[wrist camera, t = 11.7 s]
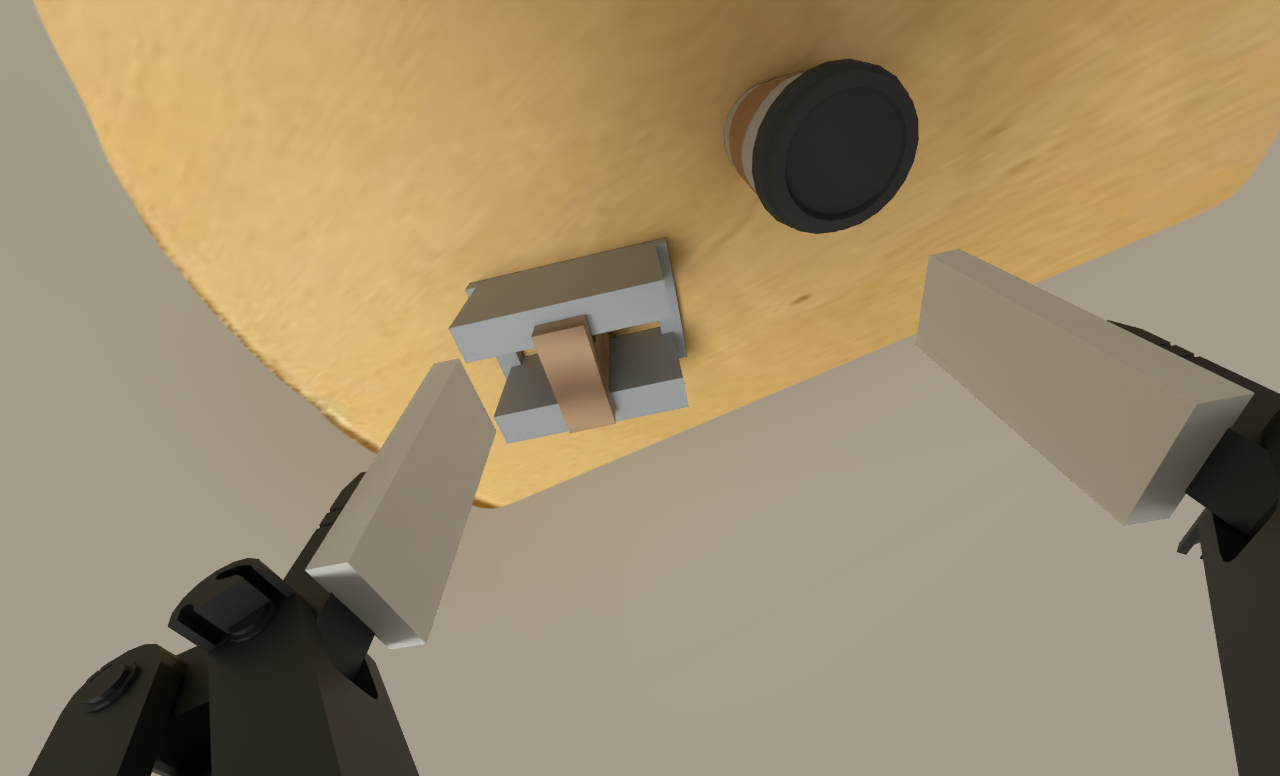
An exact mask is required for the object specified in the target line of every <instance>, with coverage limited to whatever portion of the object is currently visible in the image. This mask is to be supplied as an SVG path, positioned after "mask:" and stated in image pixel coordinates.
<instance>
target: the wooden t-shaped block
mask: <svg viewBox="0 0 1280 776" xmlns="http://www.w3.org/2000/svg"><path fill="white" fill-rule="evenodd" d="M531 338H532V340H533V343H534V345H535V348H536V350H537V353H538V355H539V358H540V360H541V363H542V365H543V368H544V370H545V373H546V375H547V378H548V380H549V383H550V385H551V387H552V390H553V392H554V395H555V397H556V400H557V402H558V405H559V407H560V410H561V412H562V415H563V417H564V420H565V422H566V425H567V427H568V429H569V432H570V433H573V432H578V431H583V430H588V429H593V428H597V427H602V426H607V425H612V424H616V422H615V408H614V404H613V401H612V398H611V395H610V392H609V389H608V386H609V336H608V333H607V332H605V333H600V334H596V335H591V332H590V329H589V326H588V323H587V320H586V316H585V314H584V315H579V316H575V317H571V318H566V319H562V320H557V321H553V322H549V323H544V324H540V325H536V326H535V327H534V330H533V333H532V336H531Z"/></svg>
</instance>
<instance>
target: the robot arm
mask: <svg viewBox="0 0 1280 776" xmlns="http://www.w3.org/2000/svg"><path fill="white" fill-rule="evenodd" d="M916 346H918V347H919V348H920V349H921V350H922V351H923V352H924V353H926V354H927V355H928V356H929V357H930V358H931V359H933V360H934V361H935V362H936V363H937V364H938V365H939V366H940V367H942V368H943V369H944V370H945V371H946V372H947V373H949V374H950V375H951V376H952V377H953V378H954V379H955V380H957V381H958V382H959V383H960V384H961V385H962V386H963V387H965V388H966V389H967V390H968V391H969V392H970V393H971V394H973V395H974V396H975V397H976V398H977V399H978V400H980V401H981V402H982V403H983V404H984V405H985V406H986V407H987V408H989V409H990V410H991V411H992V412H993V413H994V414H996V415H997V416H998V417H999V418H1000V419H1001V420H1002V421H1004V422H1005V423H1006V424H1007V425H1008V426H1009V427H1010V428H1012V429H1013V430H1014V431H1015V432H1016V433H1017V434H1018V435H1020V436H1021V437H1022V438H1023V439H1024V440H1025V441H1027V442H1028V443H1029V444H1030V445H1031V446H1032V447H1033V448H1035V449H1036V450H1037V451H1038V452H1039V453H1040V454H1041V455H1043V456H1044V457H1045V458H1046V459H1047V460H1048V461H1049V462H1051V463H1052V464H1053V465H1054V466H1055V467H1056V468H1057V469H1059V470H1060V471H1061V472H1062V473H1063V474H1064V475H1065V476H1067V477H1068V478H1069V479H1070V480H1071V481H1072V482H1074V483H1075V484H1076V485H1077V486H1078V487H1079V488H1080V489H1082V490H1083V491H1084V492H1085V493H1086V494H1087V495H1088V496H1090V497H1091V498H1092V499H1093V500H1094V501H1095V502H1097V503H1098V504H1099V505H1100V506H1101V507H1102V508H1103V509H1104V510H1106V511H1107V512H1108V513H1109V514H1110V515H1111V516H1113V517H1114V518H1115V519H1116V520H1117V521H1118V522H1119V523H1121V524H1122V525H1123V526H1124V525H1130V524H1136V523H1142V522H1148V521H1154V520H1160V519H1166V518H1169V517H1170V516H1171V514H1172V513H1173V511H1174V510H1175V509H1176V507H1177V506H1178V504H1179V503H1180V501H1181V500H1182V498H1183V497H1184V496H1185V494H1188V495H1189V496H1190V497H1192V498H1193V499H1195V500H1196V501H1197V502H1199V503H1200V504H1202V505H1203V506H1204V507H1206V508H1205V509H1204V511H1203V512H1202V513H1201V515H1200V516H1199V517H1198V519H1197V520H1196V521H1195V523H1194V524H1193V525H1192V527H1191V528H1190V530H1189V531H1188V532H1187V534H1186V535H1185V536H1184V537H1183V539H1182V541H1181V542H1180V543H1179V546H1178V549H1177V552H1179V553H1183V554H1187V553H1188V551H1189V550H1190V549H1191V548H1192V546H1193V545H1194V544H1197V543H1200V544H1201V549H1202V555H1201V557H1200V559H1203V562H1204V568H1205V573H1206V580H1207V586H1208V592H1209V598H1210V604H1211V610H1212V616H1213V622H1214V628H1215V634H1216V640H1217V646H1218V652H1219V658H1220V664H1221V669H1222V676H1223V682H1224V688H1225V694H1226V700H1227V706H1228V712H1229V718H1230V724H1231V730H1232V736H1233V743H1234V749H1235V754H1236V761H1237V766H1238V773H1239V776H1280V394H1279V393H1277V392H1275V391H1272V390H1270V389H1268V388H1266V387H1264V386H1262V385H1260V384H1258V383H1255V382H1253V381H1251V380H1249V379H1247V378H1244V377H1243V376H1241V375H1238V374H1236V373H1234V372H1232V371H1230V370H1228V369H1226V368H1223V367H1221V366H1219V365H1217V364H1215V363H1213V362H1211V361H1209V360H1207V359H1204V358H1202V357H1200V356H1199V357H1194V354H1193V353H1191V352H1189V351H1187V350H1185V349H1183V348H1181V347H1179V346H1177V345H1174V346H1171V345H1170V342H1168V341H1166V340H1164V339H1162V338H1160V337H1158V336H1156V335H1153V334H1151V333H1149V332H1147V331H1145V330H1143V329H1139V328H1136V327H1132V326H1128V325H1124V324H1121V323H1117V322H1113V321H1109V320H1104V319H1102V318H1099V317H1098V316H1096V315H1094V314H1092V313H1089V312H1087V311H1085V310H1083V309H1081V308H1079V307H1077V306H1075V305H1073V304H1071V303H1068V302H1067V301H1065V300H1063V299H1061V298H1059V297H1057V296H1055V295H1053V294H1050V293H1048V292H1046V291H1044V290H1042V289H1040V288H1038V287H1036V286H1034V285H1032V284H1030V283H1028V282H1026V281H1024V280H1022V279H1020V278H1018V277H1016V276H1014V275H1011V274H1009V273H1007V272H1005V271H1003V270H1001V269H999V268H997V267H995V266H993V265H991V264H989V263H987V262H985V261H983V260H981V259H979V258H977V257H975V256H972V255H970V254H968V253H966V252H964V251H962V250H960V249H957V250H952V251H947V252H943V253H938V254H934V255H929V260H928V266H927V273H926V280H925V286H924V293H923V299H922V306H921V313H920V319H919V326H918V333H917V339H916ZM495 433H496V429H495V427H494V425H493V423H492V421H491V419H490V418H489V416H488V414H487V412H486V410H485V408H484V406H483V404H482V402H481V400H480V398H479V396H478V394H477V392H476V390H475V388H474V387H473V385H472V383H471V381H470V379H469V377H468V375H467V373H466V371H465V369H464V367H463V365H462V363H461V361H460V359H454V360H450V361H445V362H441V363H436V364H434V365H433V366H432V368H431V369H430V371H429V373H428V374H427V376H426V377H425V379H424V381H423V382H422V384H421V385H420V387H419V388H418V390H417V392H416V393H415V395H414V396H413V398H412V400H411V401H410V403H409V404H408V406H407V408H406V409H405V411H404V412H403V414H402V416H401V417H400V419H399V420H398V422H397V424H396V425H395V427H394V428H393V430H392V432H391V433H390V435H389V436H388V438H387V440H386V441H385V443H384V444H383V446H382V448H381V449H380V451H379V452H378V454H377V456H376V457H375V459H374V461H373V462H372V464H371V465H370V467H369V469H368V470H367V472H362V473H360V474H359V475H358V476H357V477H356V478H355V479H354V480H353V481H351V482H350V483H349V484H348V485H347V486H346V487H345V488H344V489H343V490H342V491H341V493H340V494H339V496H338V497H337V499H336V500H335V502H334V503H333V505H332V506H331V508H330V513H327V514H326V516H325V517H324V519H323V520H322V522H321V523H320V529H316V531H315V533H314V534H313V535H312V537H311V538H310V540H309V541H308V543H307V545H306V546H305V548H304V549H303V551H302V552H301V554H300V555H299V557H298V558H297V560H296V561H295V563H294V564H293V566H292V567H291V569H290V570H289V572H288V573H287V575H286V577H285V578H284V580H282V579H281V578H280V577H278V576H277V575H276V574H275V573H274V572H273V571H272V570H271V569H269V568H268V567H267V566H266V565H265V564H264V563H262V562H261V561H260V560H259V559H253V558H247V559H243V560H239V561H236V562H233V563H231V564H229V565H227V566H225V567H223V568H221V569H219V570H217V571H215V572H214V573H213V574H211V575H210V576H208V577H207V578H206V579H204V580H203V581H202V582H200V583H199V584H198V585H197V586H196V587H194V588H193V589H192V590H191V591H190V592H189V593H188V594H187V595H186V596H185V597H184V598H183V599H182V600H181V602H180V603H179V605H178V606H177V607H176V609H175V610H174V612H173V613H172V615H171V618H170V621H169V624H168V627H169V628H171V629H172V630H174V631H175V632H177V633H178V634H180V635H181V636H183V637H185V638H186V639H188V640H189V641H191V642H192V643H194V644H195V645H197V646H196V647H194V648H192V649H189V650H188V651H185V652H183V653H181V654H179V655H174V654H172V653H171V652H169V651H167V650H166V649H164V648H162V647H161V646H159V645H157V644H145V645H142V646H139V647H137V648H134V649H132V650H129V651H127V652H126V653H124V654H122V655H121V656H119V657H117V658H116V659H114V660H112V661H110V662H109V663H107V664H106V665H105V666H103V667H102V668H101V670H100V671H97V672H96V673H95V674H93V675H92V676H91V677H90V678H89V679H88V680H87V681H86V683H85V684H84V685H83V686H82V687H81V688H80V689H79V690H78V691H77V692H76V693H75V694H74V695H73V697H72V698H71V699H70V701H69V702H68V704H67V705H66V707H65V708H64V710H63V711H62V713H61V714H60V717H59V718H58V720H57V722H56V724H55V726H54V728H53V730H52V732H51V734H50V736H49V738H48V739H47V741H46V743H45V745H44V747H43V749H42V751H41V753H40V755H39V756H38V759H37V760H36V762H35V764H34V766H33V768H32V770H31V772H30V774H29V776H151V773H152V772H154V773H156V774H159V775H161V776H419V774H418V771H417V769H416V766H415V764H414V761H413V758H412V756H411V753H410V751H409V748H408V746H407V743H406V740H405V738H404V735H403V732H402V730H401V727H400V725H399V722H398V720H397V717H396V714H395V712H394V709H393V707H392V704H391V702H390V699H389V696H388V694H387V691H386V688H385V686H384V683H383V681H382V678H381V676H380V673H379V670H378V668H377V665H376V663H375V662H374V660H373V659H372V658H371V657H370V656H369V655H368V654H367V651H368V649H369V647H370V644H371V642H372V640H373V637H374V635H375V636H376V637H377V638H378V639H379V640H381V641H382V642H383V643H384V644H385V645H386V646H387V647H388V648H389V649H390V650H391V649H397V648H403V647H409V646H415V645H421V644H426V643H427V640H428V636H429V634H430V631H431V627H432V625H433V622H434V618H435V615H436V613H437V609H438V606H439V603H440V600H441V597H442V594H443V591H444V588H445V585H446V582H447V579H448V576H449V573H450V570H451V567H452V564H453V561H454V558H455V554H456V551H457V548H458V545H459V543H460V540H461V537H462V534H463V530H464V527H465V524H466V521H467V518H468V515H469V512H470V509H471V506H472V503H473V500H474V497H475V494H476V491H477V488H478V485H479V482H480V479H481V476H482V473H483V470H484V467H485V464H486V461H487V457H488V454H489V451H490V448H491V445H492V442H493V439H494V436H495Z"/></svg>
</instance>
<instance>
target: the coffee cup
mask: <svg viewBox="0 0 1280 776" xmlns="http://www.w3.org/2000/svg"><path fill="white" fill-rule="evenodd" d="M918 140H919V138H918V117H917V114H916V111H915V107H914V104H913V101H912V99H911V98H910V97H909V94H908V92H907V91H906V90H905V88H904V87H903V85H902V84H901V83H900V81H899V80H898V78H897V77H896V76H894V75H893V74H891V73H890V72H888V71H887V70H885V69H884V68H882V67H881V66H879V65H874V64H870V63H867V62H862V61H857V60H853V59H844V60H835V61H828V62H825V63H823V64H821V65H818V66H816V67H814V68H811V69H809V70H807V71H803V72H796V73H793V74H789V75H786V76H782V77H778V78H775V79H772V80H770V81H768V82H765V83H762V84H760V85H757V86H755V87H753V88H751V89H749V90H748V91H747V92H746V93H744V94H743V95H742V96H741V97H740V98H739V100H738V101H737V102H736V103H735V105H734V106H733V108H732V110H731V112H730V114H729V116H728V118H727V122H726V126H725V131H724V144H725V148H726V152H727V155H728V157H729V159H730V161H731V163H732V164H733V165H734V167H735V168H736V169H737V171H738V173H739V174H740V175H741V177H742V178H743V179H744V180H745V182H746V183H747V184H748V185H749V186H750V188H751V189H752V190H753V191H754V192H755V193H756V194H757V195H758V197H759V199H760V200H761V202H762V204H763V206H764V208H765V209H766V210H767V211H768V212H769V213H770V214H771V215H772V216H773V217H774V218H775V219H776V220H777V221H779V222H781V223H783V224H785V225H787V226H789V227H791V228H795V229H797V230H799V231H803V232H809V233H815V234H820V233H829V232H836V231H839V230H844V229H847V228H850V227H853V226H855V225H858V224H861V223H862V222H864V221H865V220H867V219H869V218H870V217H872V216H873V215H875V214H876V213H878V212H879V211H880V210H881V209H882V208H883V207H884V206H885V205H886V204H887V203H888V202H889V201H890V200H891V199H892V198H893V197H894V195H895V194H896V193H897V191H898V190H899V188H900V187H901V186H902V184H903V183H904V181H905V180H906V177H907V175H908V173H909V171H910V168H911V166H912V164H913V162H914V158H915V154H916V149H917V145H918Z"/></svg>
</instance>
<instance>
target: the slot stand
mask: <svg viewBox="0 0 1280 776" xmlns="http://www.w3.org/2000/svg"><path fill="white" fill-rule="evenodd" d="M465 291H466V293H467V295H468V300H467V301H466V303H465V304H464V306H463V307H462V309H461V311H460V312H459V314H458V315H457V317H456V318H455V320H454V321H453V323H452V324H451V326H450V327H449V331H450V333H451V335H452V336H453V338H454V340H455V342H456V344H457V346H458V348H459V350H460V352H461V354H462V356H463V358H464V360H465V362H466V363H469V362H473V361H478V360H482V359H487V358H491V357H496V358H497V360H498V362H499V365H500V367H501V369H502V371H503V373H504V375H505V378H506V380H507V381H506V384H505V387H504V389H503V392H502V395H501V398H500V401H499V404H498V406H497V409H496V412H495V415H494V419H495V421H496V423H497V425H498V427H499V429H500V430H501V432H502V434H503V436H504V438H505V440H506V442H507V444H508V443H513V442H518V441H523V440H528V439H533V438H538V437H543V436H548V435H553V434H557V433H562V432H567V431H569V429H568V427H567V425H566V422H565V420H564V417H563V415H562V412H561V410H560V407H559V405H558V402H557V400H556V397H555V395H554V392H553V390H552V387H551V385H550V383H549V380H548V378H547V375H546V373H545V370H544V368H543V365H542V363H541V360H540V358H539V355H538V354H536V355H531V356H526V357H523V355H522V352H521V351H523V350H528V349H532V348H535V345H534V343H533V340H532V338H531V336H532V333H533V330H534V327H535V326H536V325H540V324H544V323H549V322H553V321H557V320H562V319H566V318H571V317H575V316H579V315H584V314H585V316H586V320H587V323H588V326H589V329H590V332H591V335H596V334H600V333H605V332H609V331H614V330H618V329H623V328H627V327H632V326H637V325H641V324H646V323H650V322H655V321H659V324H660V327H659V328H654V329H650V330H645V331H641V332H636V333H632V334H627V335H622V336H618V337H613V338H609V386H608V389H609V392H610V395H611V398H612V401H613V404H614V408H615V422H616V421H621V420H626V419H631V418H636V417H641V416H646V415H650V414H655V413H660V412H665V411H670V410H675V409H680V408H685V407H689V406H688V400H687V395H686V390H685V385H684V380H683V375H682V371H681V367H680V363H679V359H678V358H682V357H687V352H686V347H685V341H684V336H683V330H682V325H681V319H680V314H679V308H678V303H677V297H676V292H675V286H674V281H673V275H672V270H671V265H670V259H669V254H668V248H667V243H666V240H665V238H661V239H657V240H653V241H649V242H644V243H640V244H636V245H632V246H627V247H623V248H619V249H615V250H610V251H606V252H602V253H597V254H593V255H589V256H585V257H580V258H576V259H572V260H568V261H563V262H559V263H555V264H551V265H546V266H542V267H538V268H533V269H529V270H525V271H521V272H516V273H512V274H508V275H504V276H499V277H495V278H491V279H487V280H482V281H478V282H474V283H469V285H468V286H467V288H466V289H465Z"/></svg>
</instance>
